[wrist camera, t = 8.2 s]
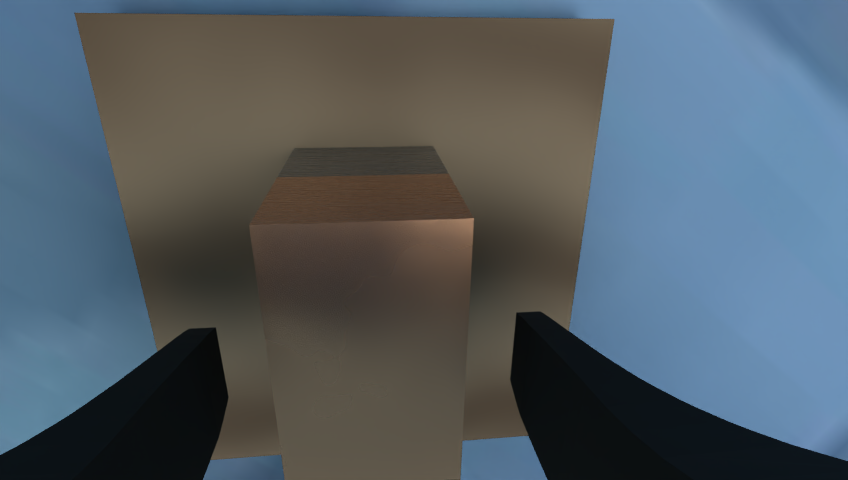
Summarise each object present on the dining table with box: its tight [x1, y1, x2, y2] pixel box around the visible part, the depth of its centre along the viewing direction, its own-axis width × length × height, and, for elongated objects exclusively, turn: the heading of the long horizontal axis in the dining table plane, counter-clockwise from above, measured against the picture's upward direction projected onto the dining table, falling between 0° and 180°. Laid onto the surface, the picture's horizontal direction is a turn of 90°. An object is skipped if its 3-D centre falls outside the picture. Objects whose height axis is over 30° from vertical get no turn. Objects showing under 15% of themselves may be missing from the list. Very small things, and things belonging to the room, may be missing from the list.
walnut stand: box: [75, 13, 614, 460], centre depth 17 cm, size 15×14×2 cm
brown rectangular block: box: [249, 146, 474, 480], centre depth 13 cm, size 8×4×6 cm, turn 179°
